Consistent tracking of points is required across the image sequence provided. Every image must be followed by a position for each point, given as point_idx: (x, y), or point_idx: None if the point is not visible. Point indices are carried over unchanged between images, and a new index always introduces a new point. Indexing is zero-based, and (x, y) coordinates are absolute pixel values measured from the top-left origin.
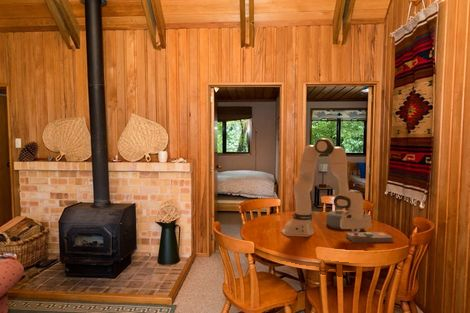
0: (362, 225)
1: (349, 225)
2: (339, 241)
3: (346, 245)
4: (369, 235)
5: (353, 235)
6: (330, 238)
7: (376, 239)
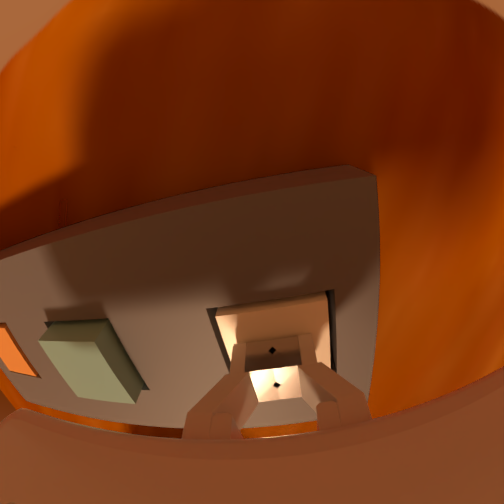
0: (105, 492)
1: (498, 451)
2: (480, 222)
3: (452, 73)
4: (78, 329)
5: (318, 330)
6: (499, 304)
7: (27, 246)
